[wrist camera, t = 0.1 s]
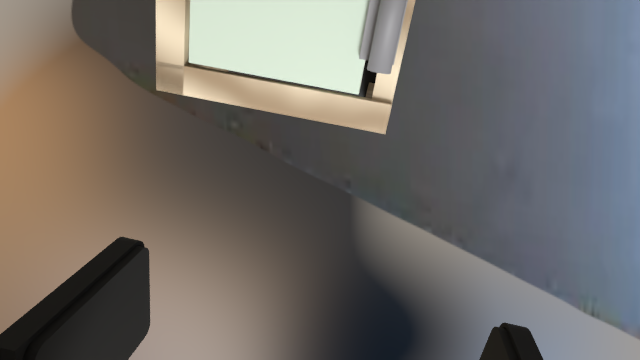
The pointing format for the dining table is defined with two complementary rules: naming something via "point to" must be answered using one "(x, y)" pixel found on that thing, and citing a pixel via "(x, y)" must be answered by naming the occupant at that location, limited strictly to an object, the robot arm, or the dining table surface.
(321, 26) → the trapdoor
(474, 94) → the dining table surface
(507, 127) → the dining table surface
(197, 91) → the trapdoor frame
